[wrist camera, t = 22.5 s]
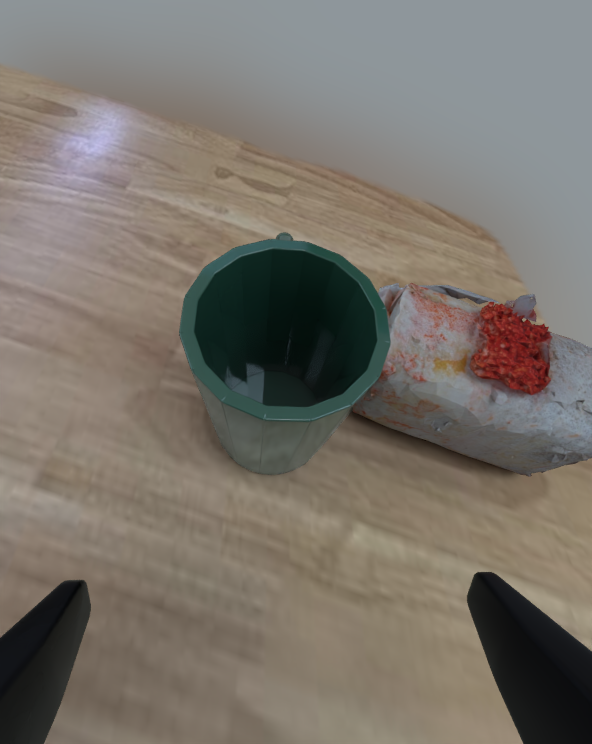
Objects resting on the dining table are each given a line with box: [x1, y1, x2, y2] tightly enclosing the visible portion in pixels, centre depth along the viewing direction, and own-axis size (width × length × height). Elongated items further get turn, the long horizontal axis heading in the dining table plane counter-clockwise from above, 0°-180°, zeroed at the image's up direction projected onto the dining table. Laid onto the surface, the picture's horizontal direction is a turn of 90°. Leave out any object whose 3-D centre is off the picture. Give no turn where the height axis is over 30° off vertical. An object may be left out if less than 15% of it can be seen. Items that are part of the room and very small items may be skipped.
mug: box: [179, 232, 391, 475], centre depth 19 cm, size 10×7×12 cm
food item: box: [352, 283, 592, 476], centre depth 21 cm, size 14×8×10 cm, turn 71°
